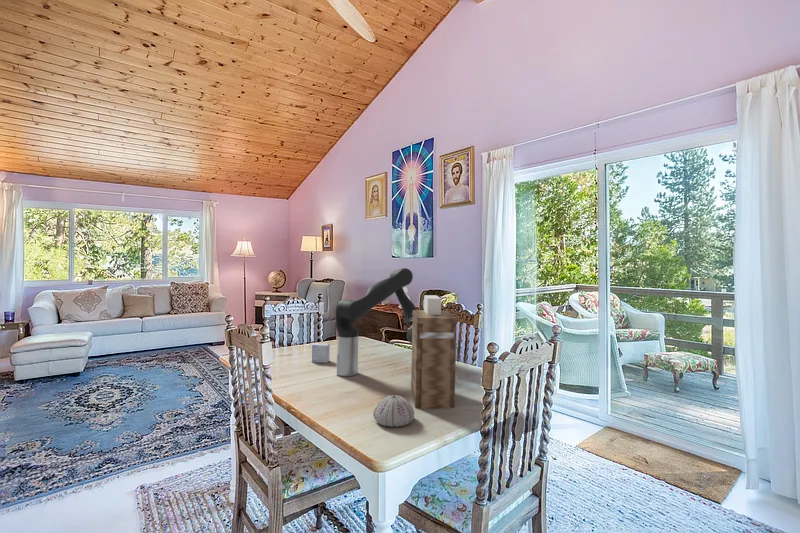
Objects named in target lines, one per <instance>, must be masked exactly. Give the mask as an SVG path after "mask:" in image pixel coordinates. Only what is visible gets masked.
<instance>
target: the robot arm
mask: <svg viewBox="0 0 800 533" xmlns="http://www.w3.org/2000/svg"><path fill="white" fill-rule="evenodd" d="M413 277H414V274H413V272H412V271H411V270H410V268H406V267H403V268H399V269H396V270H393V271H391V273H390V274H389V277H387V278H385V279H382V280H380V281H377V282H376V283H374V284H372V285H370V286H369V287H368V288H367V289H366V292H365V295H364V296H363V297H361V298H359V299H357V300H354V299H341V300H339V302H338V303H337V305H336V309H335V326H336V328H335V329H336V332H337V353H336V376H342V377H353V376H357V375H358V374H359V335H360V334H359V333H360V332H359V329H358V328H357V327H356V326H354V324H353V323H352V322H356V321H358V320H360V319H361V318H363V317H364V316H365V315H366V314H367V313H368V312H369V311H371V310H372V309H373V308H375V307H376V306H377V305H379V304H381V303H383V302H384V301H385V300H387V299H388V298H389V297H390V296H392V295H394V294H395V296H396V298H397V300H398V302H399V304H400V306H401V309H402V312H403V316H404V320H405V323H406V325H407V326H411V327H410V328H409V329H408V330H407V331H406V332H407V333H406V339H407V341H408V343H410V344H412V325H413V310H417V308H416V306H415V304H414V303H413V302H412V301H411V299H410V298H409V297H408V296H407V294H406V293H405V290H404V287H406V286H408V285H410V284H411V283H412V281H413Z"/></svg>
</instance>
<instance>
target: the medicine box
mask: <svg viewBox="0 0 800 533" xmlns="http://www.w3.org/2000/svg"><path fill="white" fill-rule="evenodd" d="M330 345H331V344H330V343H317V342H316V343H313V344H312V345H311V363H319V364H320V363H322V364H326V363H327V364H328V362H330Z"/></svg>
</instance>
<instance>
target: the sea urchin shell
mask: <svg viewBox="0 0 800 533" xmlns="http://www.w3.org/2000/svg"><path fill="white" fill-rule="evenodd" d="M413 407H414V406H412V404H411V403H410V401H408V399H407V398H405V397H403V396H401V395H395V394H394V395H393V394H391V395H387V396H385V398H383V399H381V400H380V401H379V402H378V404H376V406H375V408H374V409H373V412H372V414H373V415H372V416H373V419H375V421H376V422H377V424H379V425H381V426H384V427H386V426H387V427H391V428H392V427H395V428H396V427H404V426H406V425H409V424H410V423H412V421H413V420H414V418H415V410H414V408H413Z"/></svg>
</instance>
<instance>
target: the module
mask: <svg viewBox="0 0 800 533" xmlns="http://www.w3.org/2000/svg"><path fill="white" fill-rule="evenodd" d="M422 309H423V310H424V311H425V312H426V313H427V315H441V310H442V298H441V297H439V296H438V295H437V294H434V295H433V294H432V295H431V294H428V295H427V294H424V295H423V300H422Z"/></svg>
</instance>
